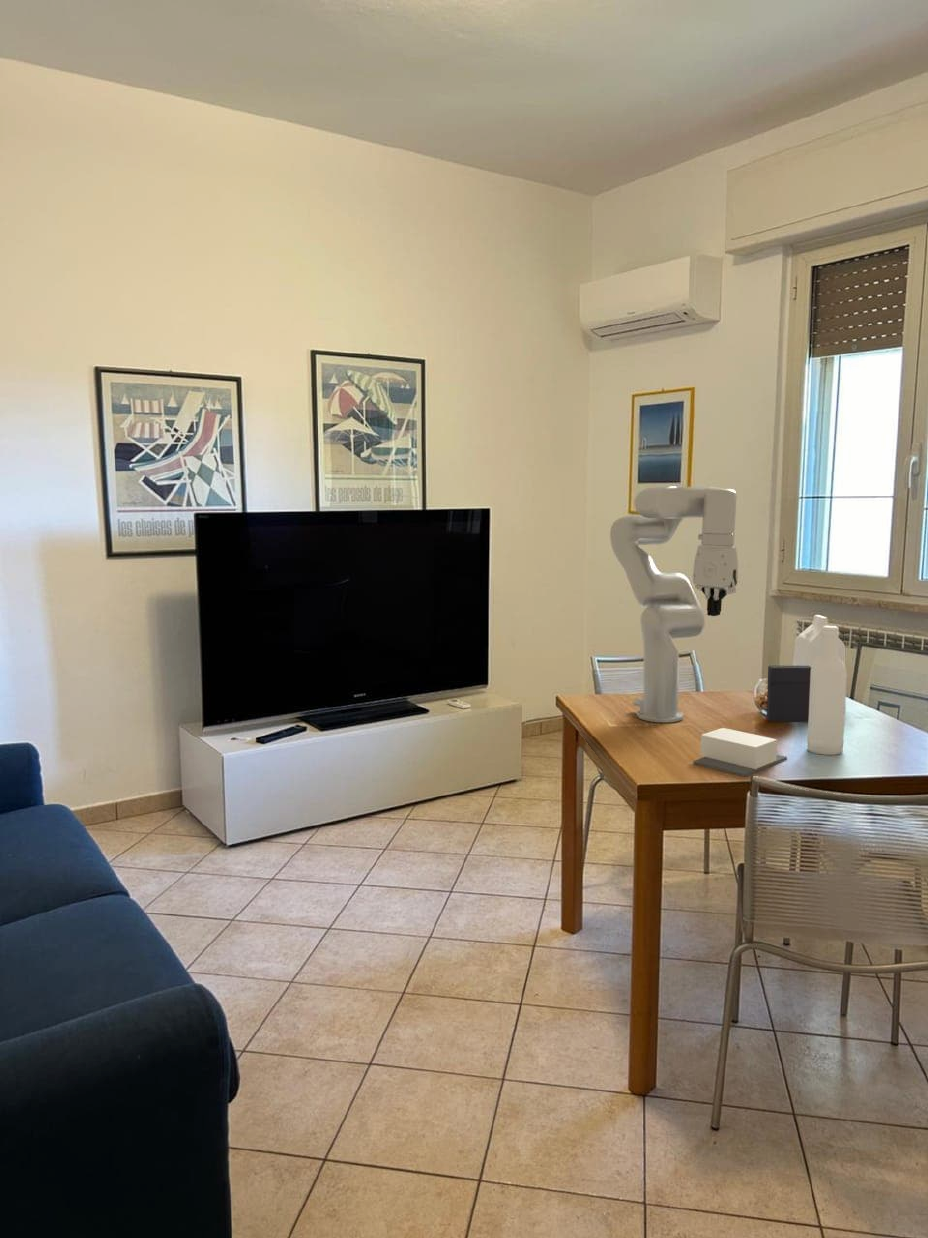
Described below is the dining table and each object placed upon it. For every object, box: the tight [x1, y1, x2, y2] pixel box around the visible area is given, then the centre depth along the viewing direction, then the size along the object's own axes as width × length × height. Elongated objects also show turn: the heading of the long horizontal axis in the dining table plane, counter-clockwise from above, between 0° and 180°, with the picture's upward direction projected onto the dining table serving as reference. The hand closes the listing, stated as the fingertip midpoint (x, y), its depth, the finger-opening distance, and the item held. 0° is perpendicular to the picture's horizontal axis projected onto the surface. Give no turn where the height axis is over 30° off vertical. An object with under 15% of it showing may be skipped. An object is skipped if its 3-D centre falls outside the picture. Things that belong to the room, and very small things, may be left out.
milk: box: [792, 614, 847, 710], centre depth 248 cm, size 12×12×26 cm
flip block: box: [700, 727, 778, 769], centre depth 197 cm, size 5×9×14 cm
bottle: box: [806, 625, 847, 756], centre depth 202 cm, size 8×8×30 cm
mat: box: [693, 754, 788, 777], centre depth 197 cm, size 13×18×1 cm
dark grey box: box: [766, 665, 811, 723], centre depth 231 cm, size 11×4×15 cm, turn 84°
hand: (713, 615), depth 209 cm, fingers closed
